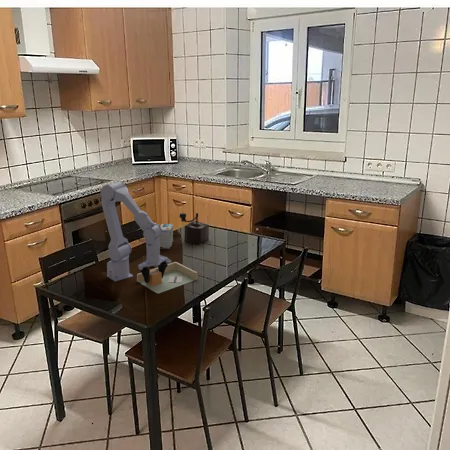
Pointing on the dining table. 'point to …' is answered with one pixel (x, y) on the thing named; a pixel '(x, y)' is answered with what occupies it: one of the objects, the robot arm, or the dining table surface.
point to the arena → (171, 277)
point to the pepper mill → (195, 230)
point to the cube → (155, 277)
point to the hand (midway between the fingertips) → (153, 280)
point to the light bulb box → (166, 235)
